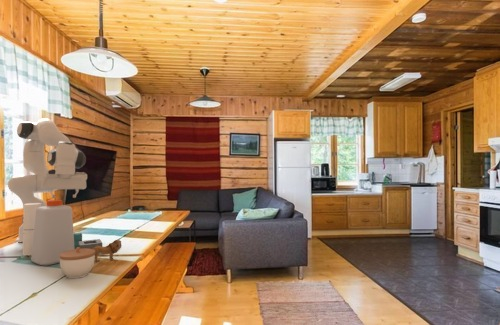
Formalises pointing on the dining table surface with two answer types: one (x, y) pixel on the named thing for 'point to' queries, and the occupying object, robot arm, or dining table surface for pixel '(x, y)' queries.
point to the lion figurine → (108, 249)
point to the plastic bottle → (52, 232)
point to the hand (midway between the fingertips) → (64, 198)
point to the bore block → (89, 244)
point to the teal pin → (77, 239)
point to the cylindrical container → (29, 226)
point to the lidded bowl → (77, 262)
